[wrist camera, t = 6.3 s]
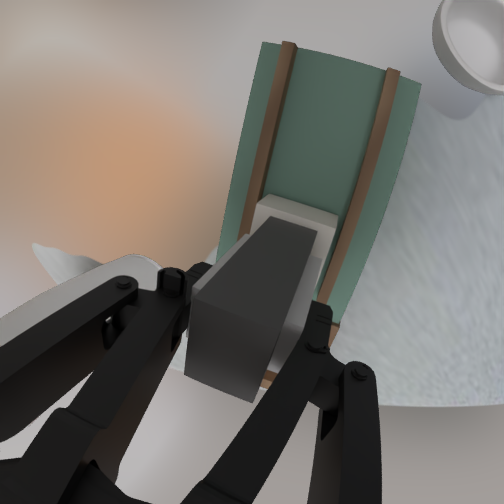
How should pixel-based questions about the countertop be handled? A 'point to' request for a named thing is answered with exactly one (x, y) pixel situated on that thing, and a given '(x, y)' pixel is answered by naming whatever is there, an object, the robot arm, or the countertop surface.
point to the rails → (365, 173)
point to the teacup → (472, 43)
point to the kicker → (254, 296)
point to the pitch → (323, 150)
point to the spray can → (76, 293)
